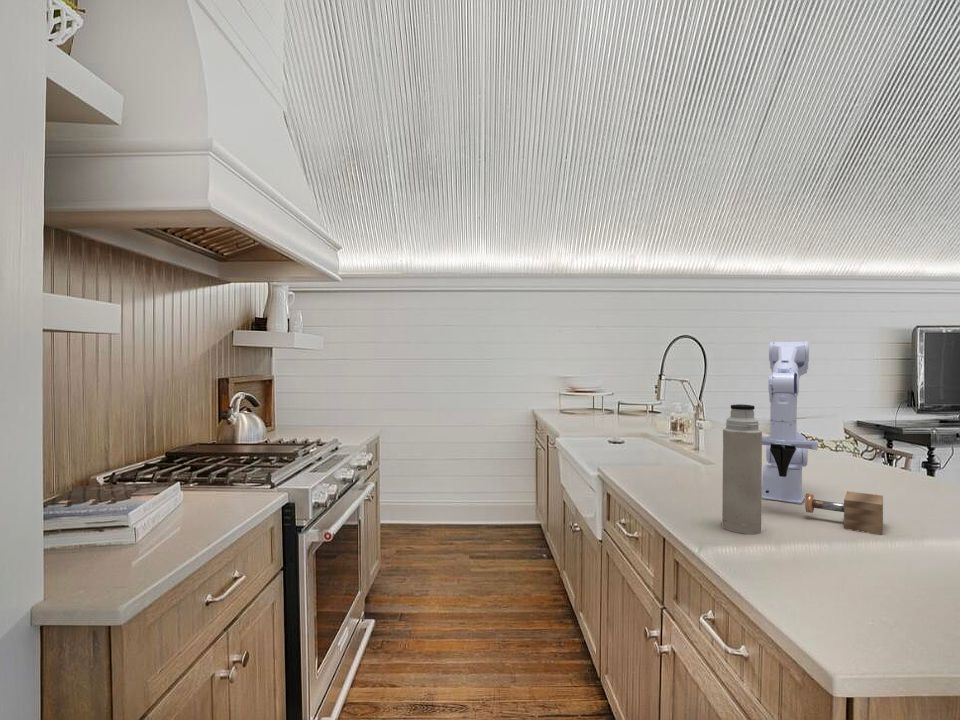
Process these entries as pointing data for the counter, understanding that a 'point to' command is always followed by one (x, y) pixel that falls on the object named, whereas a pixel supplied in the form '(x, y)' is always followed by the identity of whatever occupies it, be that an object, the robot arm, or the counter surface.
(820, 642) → the counter surface
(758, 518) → the thermos bottle
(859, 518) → the bearing block
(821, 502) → the copper capped shaft
